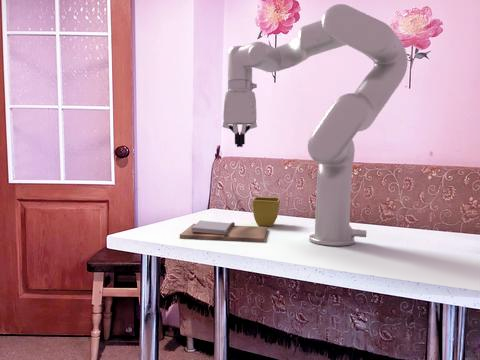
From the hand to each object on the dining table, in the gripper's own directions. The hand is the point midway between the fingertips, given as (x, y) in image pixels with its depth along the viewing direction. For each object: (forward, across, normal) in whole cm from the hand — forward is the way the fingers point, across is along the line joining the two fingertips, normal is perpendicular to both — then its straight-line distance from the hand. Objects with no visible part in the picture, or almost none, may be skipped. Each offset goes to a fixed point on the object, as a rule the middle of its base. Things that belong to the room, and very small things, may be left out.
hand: (239, 146), depth 137 cm
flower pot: (+27, -8, -11) cm, 30 cm away
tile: (+24, +8, +7) cm, 26 cm away
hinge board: (+26, +3, +7) cm, 27 cm away
